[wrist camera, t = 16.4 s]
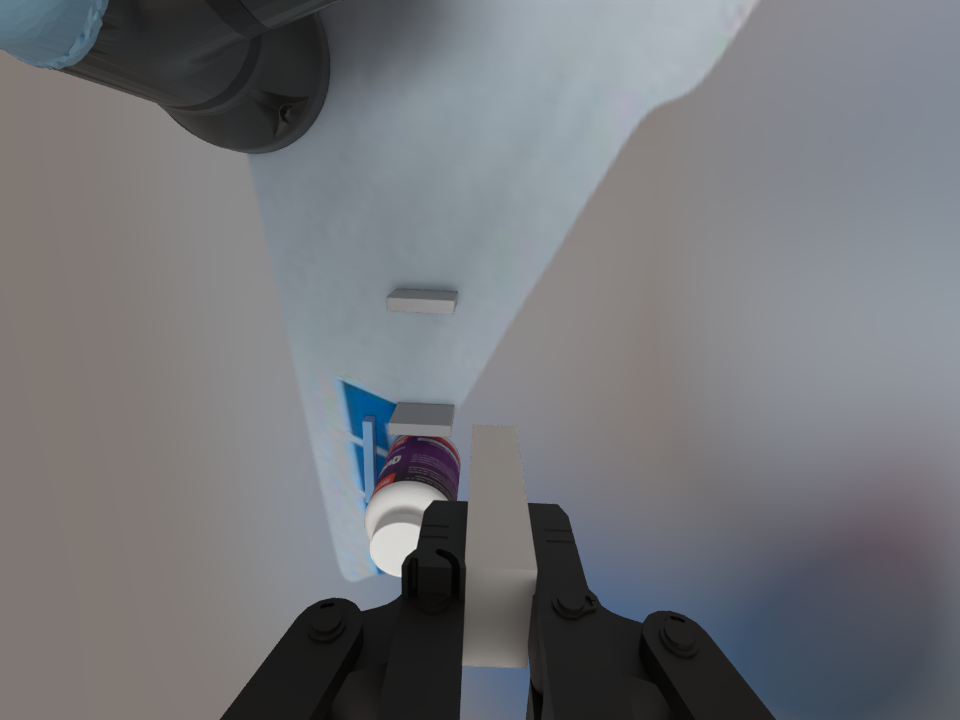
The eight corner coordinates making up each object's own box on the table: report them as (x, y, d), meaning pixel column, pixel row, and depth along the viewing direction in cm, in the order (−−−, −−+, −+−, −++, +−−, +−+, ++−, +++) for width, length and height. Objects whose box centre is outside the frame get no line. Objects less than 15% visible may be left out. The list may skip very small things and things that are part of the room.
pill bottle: (400, 416, 49) (368, 495, 35) (470, 439, 49) (465, 525, 36) (380, 477, 51) (342, 574, 37) (447, 498, 52) (434, 600, 38)
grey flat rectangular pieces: (369, 507, 52) (357, 536, 47) (361, 287, 44) (346, 295, 40) (451, 510, 52) (447, 540, 48) (457, 291, 44) (454, 300, 40)
